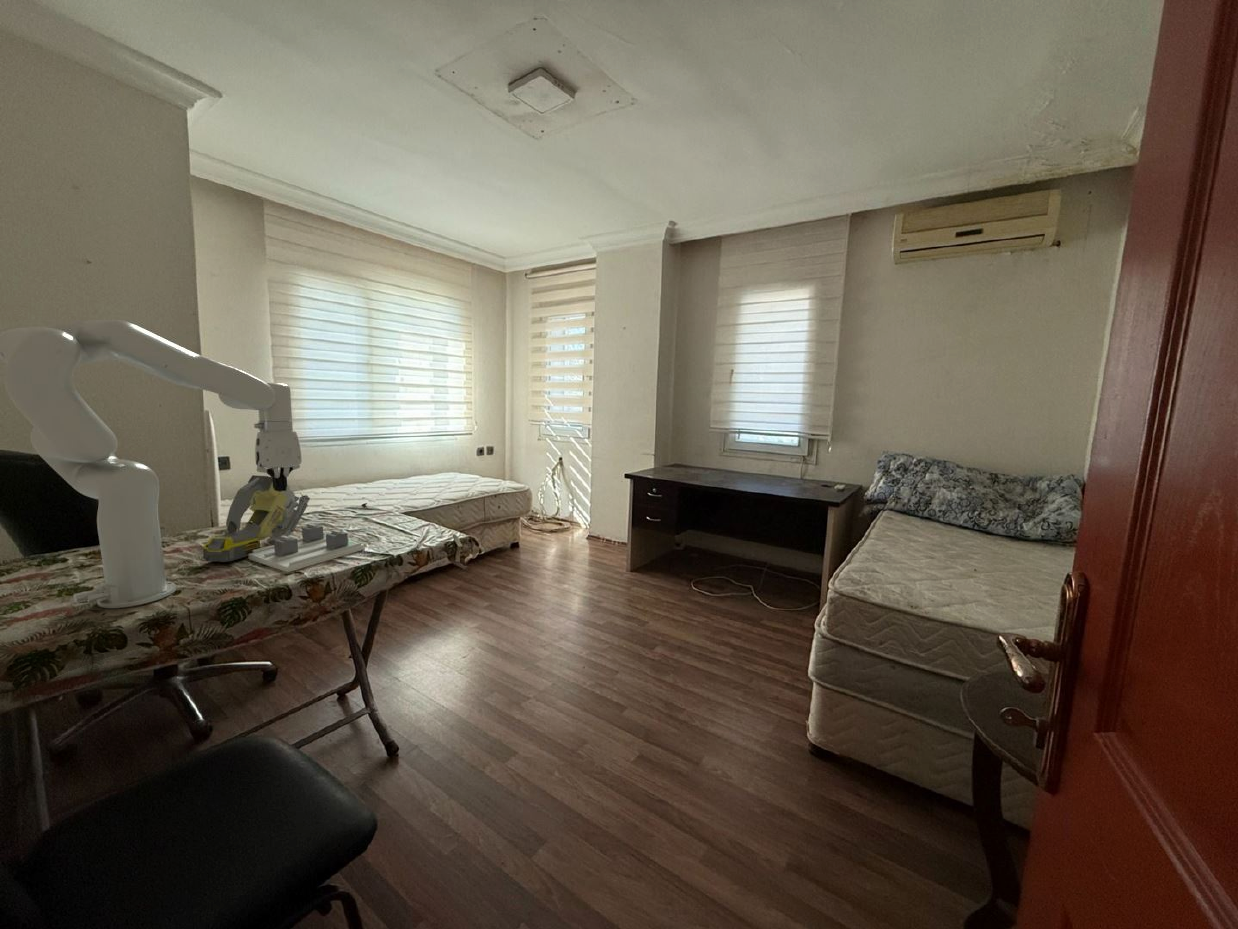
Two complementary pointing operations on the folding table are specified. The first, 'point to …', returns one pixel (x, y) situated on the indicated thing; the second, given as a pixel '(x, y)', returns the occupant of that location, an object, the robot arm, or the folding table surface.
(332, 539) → the tab near
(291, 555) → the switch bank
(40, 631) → the folding table surface
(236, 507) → the circular saw
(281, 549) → the tab mid
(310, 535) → the tab far
